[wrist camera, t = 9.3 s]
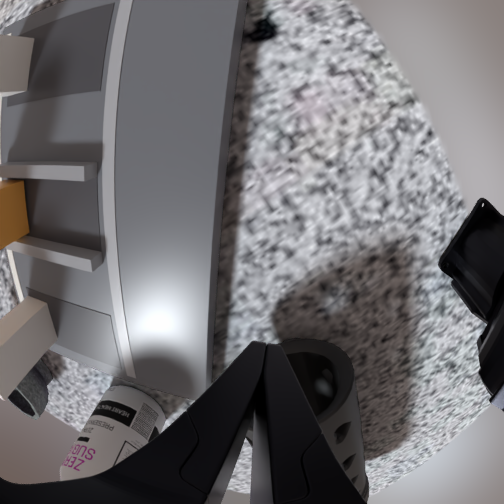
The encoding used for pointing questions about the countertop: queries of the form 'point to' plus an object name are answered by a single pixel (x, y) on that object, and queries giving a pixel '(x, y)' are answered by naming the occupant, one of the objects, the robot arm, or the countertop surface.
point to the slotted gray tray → (118, 185)
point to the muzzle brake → (330, 402)
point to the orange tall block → (12, 212)
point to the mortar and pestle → (32, 391)
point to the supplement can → (113, 432)
